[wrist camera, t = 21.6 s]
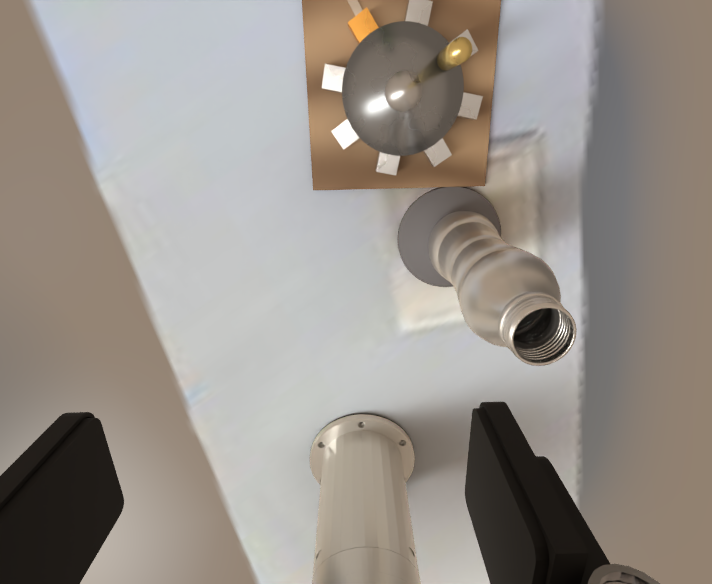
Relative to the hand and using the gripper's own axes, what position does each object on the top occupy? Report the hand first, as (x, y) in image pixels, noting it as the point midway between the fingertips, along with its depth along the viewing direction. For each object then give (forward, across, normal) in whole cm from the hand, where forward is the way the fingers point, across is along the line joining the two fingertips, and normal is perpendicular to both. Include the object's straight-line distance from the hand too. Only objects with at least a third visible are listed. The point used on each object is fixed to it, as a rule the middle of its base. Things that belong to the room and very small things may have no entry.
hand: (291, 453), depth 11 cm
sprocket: (+32, -6, -10) cm, 34 cm away
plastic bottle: (+32, -12, +3) cm, 34 cm away
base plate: (+32, -6, -10) cm, 34 cm away
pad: (+32, -11, +3) cm, 34 cm away
